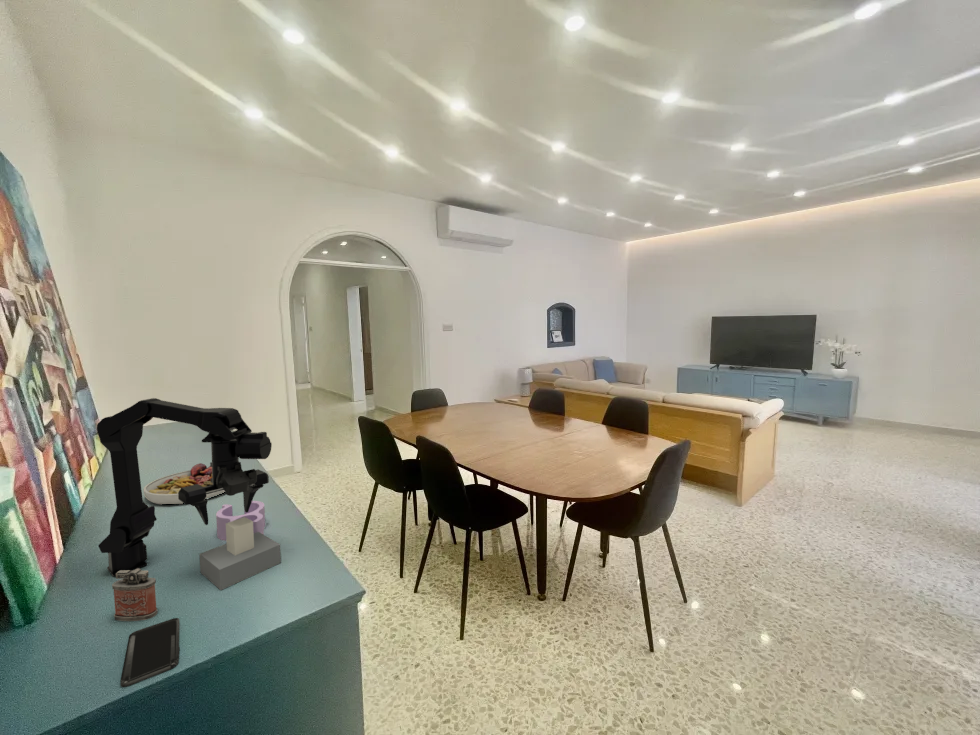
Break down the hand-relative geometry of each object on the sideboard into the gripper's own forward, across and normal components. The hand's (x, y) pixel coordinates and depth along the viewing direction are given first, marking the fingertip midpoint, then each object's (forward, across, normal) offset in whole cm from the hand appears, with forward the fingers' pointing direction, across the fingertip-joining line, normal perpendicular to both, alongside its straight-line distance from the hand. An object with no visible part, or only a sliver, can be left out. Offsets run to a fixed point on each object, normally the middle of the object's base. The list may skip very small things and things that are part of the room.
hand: (227, 518), depth 103 cm
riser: (+12, +1, -4) cm, 13 cm away
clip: (+13, +10, +15) cm, 22 cm away
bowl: (+14, +14, +66) cm, 69 cm away
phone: (+13, -20, -20) cm, 32 cm away
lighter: (+13, -20, -5) cm, 24 cm away
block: (+8, +1, -4) cm, 9 cm away
